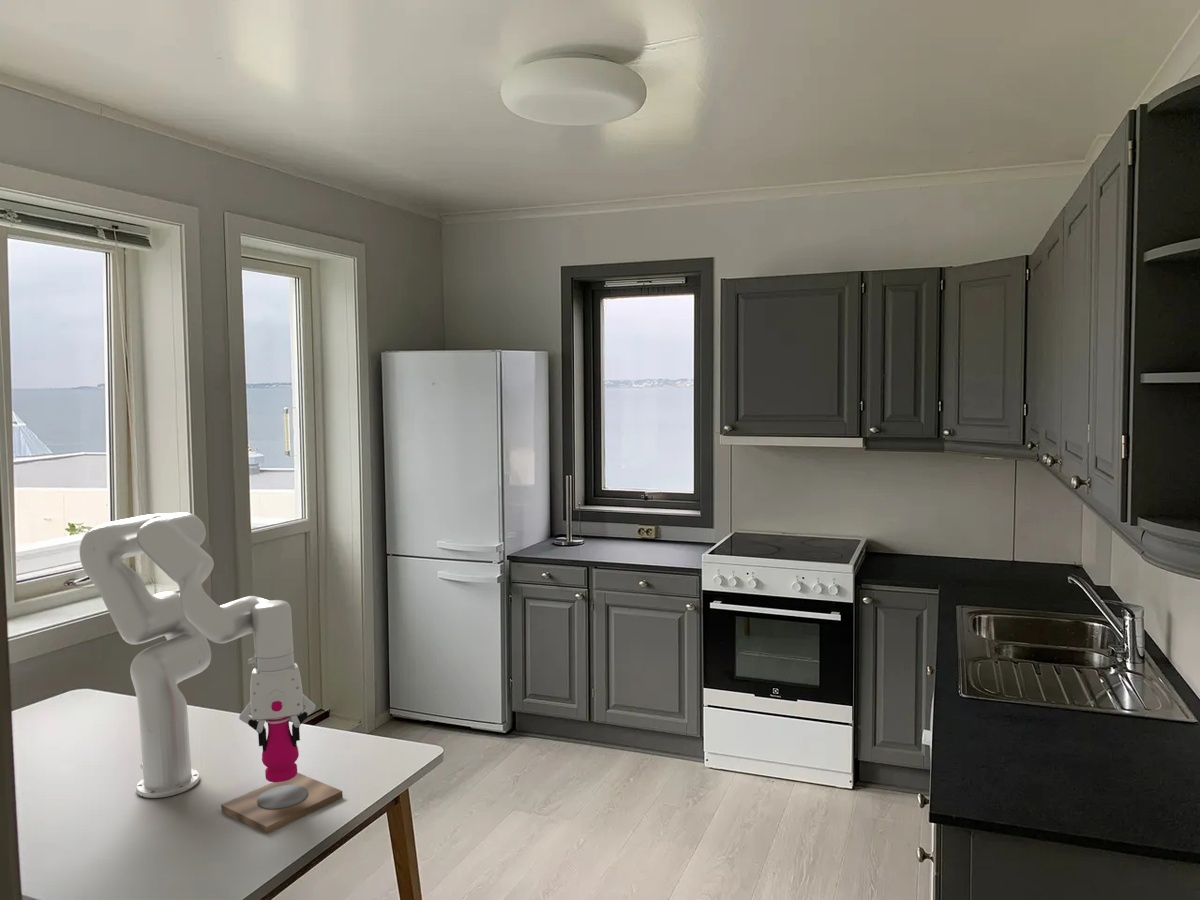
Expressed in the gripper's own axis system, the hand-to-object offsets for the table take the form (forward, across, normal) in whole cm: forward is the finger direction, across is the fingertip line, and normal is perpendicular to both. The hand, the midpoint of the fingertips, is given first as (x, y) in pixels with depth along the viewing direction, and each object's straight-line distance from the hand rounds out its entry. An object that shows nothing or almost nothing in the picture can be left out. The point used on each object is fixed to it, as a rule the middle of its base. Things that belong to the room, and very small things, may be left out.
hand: (279, 745), depth 187 cm
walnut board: (+13, 0, 0) cm, 13 cm away
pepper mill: (+7, 0, 0) cm, 7 cm away
